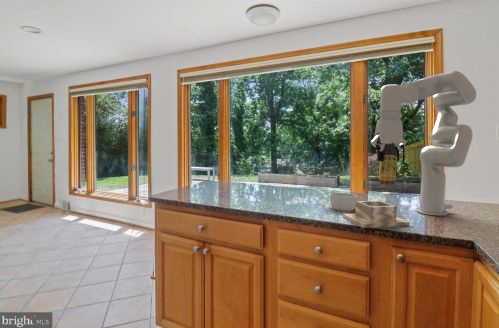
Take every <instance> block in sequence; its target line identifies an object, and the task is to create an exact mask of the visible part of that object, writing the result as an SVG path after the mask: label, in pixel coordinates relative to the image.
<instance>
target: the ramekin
mask: <svg viewBox="0 0 499 328" xmlns="http://www.w3.org/2000/svg"><path fill="white" fill-rule="evenodd" d="M329 198H330V199H329V200H330V201H329V202H330V207H331V208H332V209H333V210H335V211H342V212H350V211H351V212H352V211H354V210H356V201H358V195H357V194H354V193H348V192H332V193H329Z"/></svg>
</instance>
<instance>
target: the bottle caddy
mask: <svg viewBox="0 0 499 328" xmlns="http://www.w3.org/2000/svg"><path fill="white" fill-rule="evenodd" d="M397 208H398V206H397V205H394V204H392V203H391V204H390V203H389V202H385V201H382V200H362V201H361V200H360V201H358V200H356V207H355V209H354V210H355V211H354V213H344V214H343V218H344V219H345V220H347V221H349V222H351V223H354V224H355V225H357V226H359V227H360V228H362V229H372V228H373V229H374V228H375V229H377V228H389V227H390V228H391V227H392V228H393V227H410V225H411V222H410V221H408V220H406V219H403V218H401V217H398V216H397V211H398V210H397Z"/></svg>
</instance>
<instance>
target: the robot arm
mask: <svg viewBox="0 0 499 328" xmlns="http://www.w3.org/2000/svg"><path fill="white" fill-rule="evenodd" d="M430 97H432V103H433V105H434V108H435V114H436V120H435V122H434V125H433V129H432V130H431V134H430V139H429V140H430V142H431V143H432V144H433V145H427V146H424V147H423V148H422V149H421V150H420V152H419V160H420V164H421V165H420V166H421V180H420V201H419V203H420V204H419V207H416V209H415V211H416V212H417V213H420V214H423V215H427V216H428V215H429V216H437V217H440V216H443V217H444V216H447V215H448V214H449V213H448V210H449V209H450V210H451V209H453V208H454V206H453V204H452V203H451V204H447V203H445V196H446V193H445V192H446V178H447V177H446V174H445V172H444V170H443V168H459V167H462V166H463V165H464V163H465V162H466V158H467V155H468V152H469V149H470V146H471V144H472V141H473V130H472V128H471V126H469V125H468V124H463V123H462V124H460V123H459V124H458V121H459V116H458V114H457V112H456V111H455V110H454V109H453V108H452V107H456V106H464V105H465V106H466V105H470V104H472V103H473V102H474V101H475V100H476V98H477V89H476V88H475V86H474V84H473V83H472V82H471V81H470V80H469V78H467V76H466V75H465V74H463V73H462V72H460V71H457V70H454V71H448V72H443V73H437V74H433V75H430V76H427V77H424V78H421V79H417V80H415V81H411V82H407V83H404V84H401V85H400V84H386V85H383V86H382V87H381V89H380V103H379V105H380V106H379V119H377V122H376V126H375V130H374V131H375V132H374V137H373V139H372V140H371V141H370V143H371V145H372V146H373V148H374V149H375V151H376V152H377V153H376V155H377V156H376V157H377V160H376V161H377V162H380V161H384V151H383V149H384V146H385V144H391V143H394V144H395V148H396V150H397V162H400V152H401V151H402V149H403V148H404V147H405V145H406V144H408V143H407V140H406V139H405V138H404V129H403V122H402V119H401V118H402V117H403V113H401V111H402V110H401V109H402V106H405V105H406V106H409V105H412V104H415V103H416V102H417V101H419V100H425V99H427V98H430ZM447 209H448V210H447Z"/></svg>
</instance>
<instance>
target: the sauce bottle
mask: <svg viewBox="0 0 499 328" xmlns="http://www.w3.org/2000/svg"><path fill="white" fill-rule="evenodd" d="M383 151H384V161H379V172H378V183H379V184H381V185H390V186H391V185H392V186H393V185H394V184H396V179H397V169H398V168H397V167H398V166H397V164H398V161H397V150H396V148H395V144H394V143H391V144H385V146H384V149H383Z"/></svg>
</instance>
